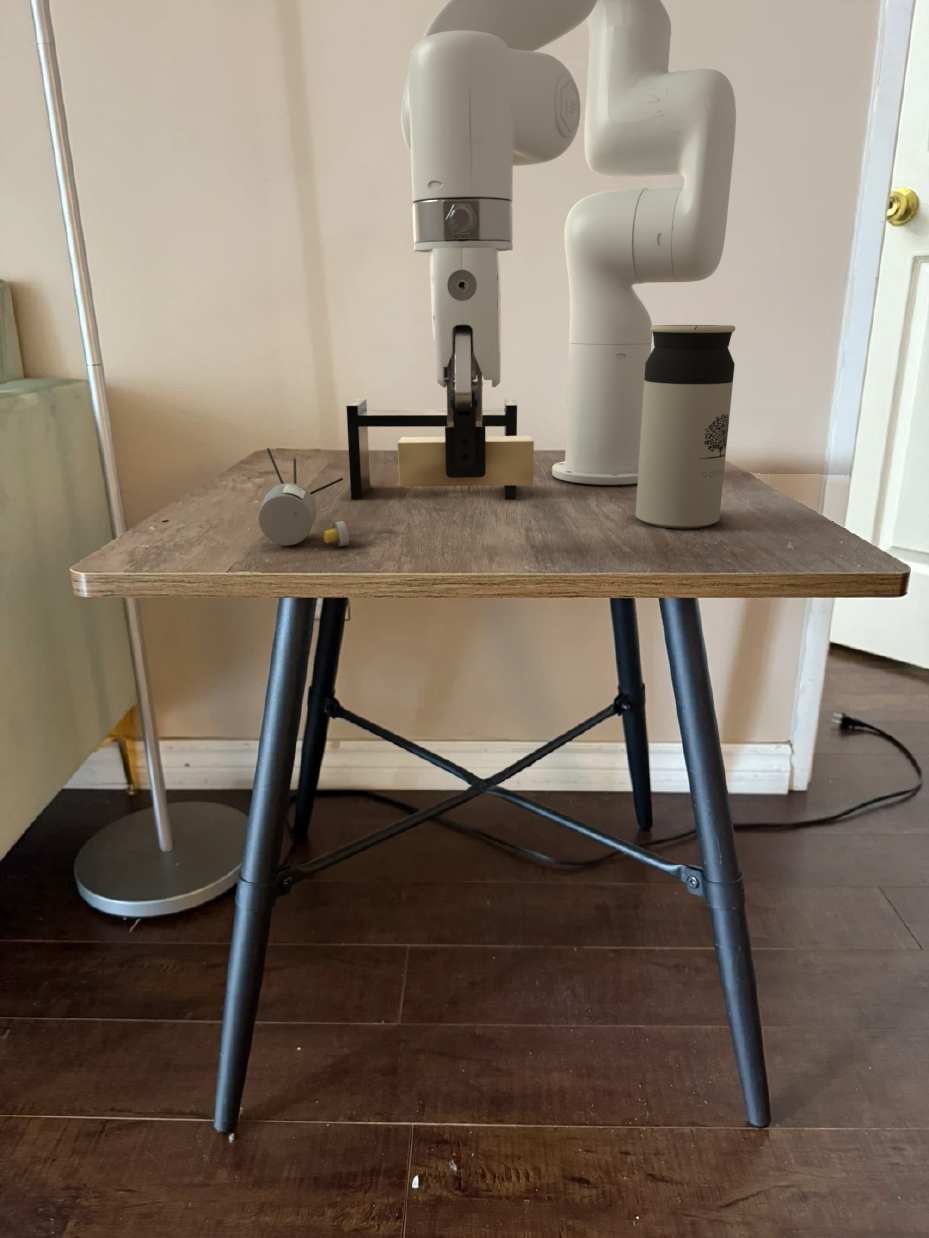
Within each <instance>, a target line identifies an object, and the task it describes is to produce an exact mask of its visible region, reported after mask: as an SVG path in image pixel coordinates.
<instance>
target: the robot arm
mask: <svg viewBox="0 0 929 1238" xmlns="http://www.w3.org/2000/svg"><path fill="white" fill-rule="evenodd" d="M584 21H586V24H587V31H588V43H589V44H588V62H587V77H586V78H587V80H586V93H585V95H586V97H585V98H586V99H585V112H584V113H585V114H584V135H583V138H584V141H583V142H584V157H585V161H586V164H587V166H588V168H589V169H590V170H591V172H592V173H594V174H596V175H597V176H599V177H604V178H608V179H630V178H634V179H635V178H646V177H647V178H648V177H663V176H677V175H678V176H681V177H683V179H684V185H683V186H670V187H655V188H648V187H645V188H630V189H629V188H628V189H614V190H604V191H600V192H599V191H598V192H596V193H592V194H589V195H587V196H585V197H583V198H581V199H579V200H578V201H577V202H576V203H575V204H574V205H573V206H572V207H571V209H570V210H569V211H568V214H567V217H566V220H565V224H564V231H563V232H564V233H563V240H564V241H563V242H564V252H565V261H566V267H567V277H568V289H569V337H568V339H569V341H568V342H569V343H568V367H567V393H566V394H567V396H566V422H565V423H566V425H565V426H566V427H565V450H564V451H565V452H564V453H565V455H564V458H565V459H564V461H563V460H562V461H559V462H557V463H555V464H553V465H552V466H551V475H552V477H554V478H556V479H558V480H560V481H564V482H568V483H575V484H581V485H594V486H625V485H636V484H638V469H639V454H640V438H641V423H642V408H643V393H644V381H645V380H644V377H645V363H646V361H647V359H648V358H649V356H650V354H651V352H652V343H653V332H652V331H651V330H650V328H651V326H653V322H652V319H651V315H650V314H649V311H648V309H647V308H646V307H645V305H644V303H643V302H642V300H641V298H640V297H639V296H638V294H637V293H636V291H635V290H634V287H633V286H634V285H642V284H646V283H691V282H692V283H693V282H700V281H704V280H706V279H707V278H709V277H711V276H712V275H714V273H715V272H716V270H717V269H718V267H719V266H720V263H721V260H722V256H723V252H724V247H725V241H726V232H727V222H728V213H729V204H730V203H729V202H730V193H731V182H732V174H733V163H734V153H735V143H736V127H737V108H736V106H737V105H736V99H735V93H734V89H733V85H732V83H731V81H730V79H729V78H728V77H727V76H726V75H725V74H724V73H722V72H721V71H719V70H716V69H713V68H712V69H710V68H709V69H708V68H696V69H688V70H680V71H672V72H669V71H670V70H669V63H670V51H671V49H670V48H671V39H672V23H671V19H670V16H669V14H668V11H667V9H666V7H665V6H664V4H663V2H662V0H447V2H445V3H444V4H443V6H442V7H441V8H440V9H439V10H438V11H437V12H436V13H435V15H433V18H432V19H431V21H430V22H429V24H428V25H427V27H426V28H425V30H424V32H423V34H422V36H421V38H420V40H418V41H417V42H416V43H415V44H414V45H413V47H412V49H411V51H410V55H409V59H408V70H407V71H408V73H407V76H406V79H405V83H404V87H403V91H402V92H403V93H402V97H401V106H400V108H401V109H400V124H401V125H400V126H401V132H402V136H403V140H404V143H405V146H406V147H407V150H408V152H409V153H410V166H411V167H410V168H411V195H412V196H411V197H412V200H411V201H412V229H413V230H412V231H413V232H412V233H413V252H414V253H415V252H416V253H429V277H430V280H429V281H430V302H431V307H430V308H431V324H432V325H431V326H432V340H433V342H432V343H433V352H434V362H435V371H436V372H435V373H436V379H437V384H438V385H440V386H441V387H443V388H444V389H446V390H445V392H446V408H447V427H444V437H445V452H446V475H447V476H448V477H450V478H467V477H483V476H484V475H485V473H486V466H485V436H486V427H485V420H482V408H483V386H484V381H491V387H492V388H496V387H498V386H499V385H500V383H501V369H502V367H501V366H502V365H501V362H502V361H501V360H502V359H501V357H502V351H501V348H502V347H501V345H502V342H501V340H502V338H501V335H502V330H501V329H502V320H501V317H502V303H501V302H502V300H501V299H502V296H501V295H502V293H501V270H500V257H499V252H508V251H513V241H514V239H513V236H514V235H513V233H514V202H513V201H514V167H521V166H532V165H533V166H534V165H540V164H544V163H545V164H546V163H548V162H551V161H553V160H556V159H557V158H559V157H560V156H562V155H563V154H564V153H565V152H566V151H567V150H568V149H569V148H570V146H571V145H572V143H573V142H574V140H575V138H576V135H577V133H578V130H579V126H580V120H581V97H580V93H579V89H578V86H577V83H576V80H575V79H574V77H573V75H572V73H571V72H570V70H569V69H568V68H567V67H566V66H565V65H564V63H563V62H561V61H560V59H557V58H556V57H555V56H552V55H551V54H548V53H546V52H542V51H541V52H540V51H538V50H540V49H542V48H544V47H546V46H548V45H550V44H552V43H553V42H555V41H557V40H558V39H560V38H562V37H564V36H565V35H567V34H568V33H570V32H572V31H573V30H575V29H576V28H577V27H579V26H580V25H581V24H582V23H583V22H584ZM483 380H484V381H483Z"/></svg>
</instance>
